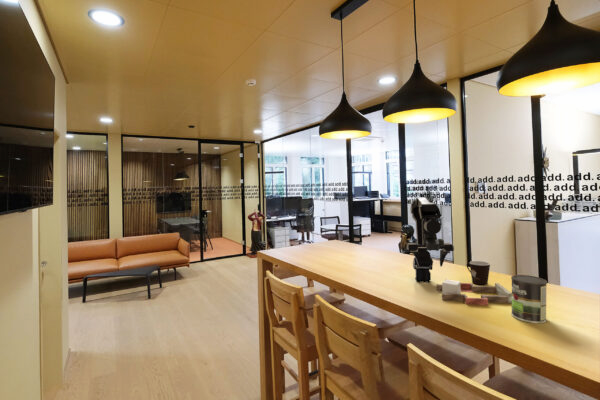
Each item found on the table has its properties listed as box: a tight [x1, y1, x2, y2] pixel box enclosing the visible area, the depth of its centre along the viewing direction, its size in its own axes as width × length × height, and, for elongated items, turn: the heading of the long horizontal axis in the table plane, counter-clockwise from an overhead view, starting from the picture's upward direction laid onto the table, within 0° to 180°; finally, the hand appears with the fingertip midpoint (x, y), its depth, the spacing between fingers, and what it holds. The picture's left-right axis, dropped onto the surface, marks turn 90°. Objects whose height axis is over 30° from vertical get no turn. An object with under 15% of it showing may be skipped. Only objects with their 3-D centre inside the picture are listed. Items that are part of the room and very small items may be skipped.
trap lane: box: [435, 282, 512, 306], centre depth 133 cm, size 26×20×4 cm
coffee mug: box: [466, 260, 491, 286], centre depth 150 cm, size 12×9×10 cm
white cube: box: [441, 278, 462, 294], centre depth 135 cm, size 6×6×6 cm
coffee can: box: [510, 274, 548, 324], centre depth 110 cm, size 10×10×14 cm
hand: (429, 266), depth 136 cm, fingers open, 9 cm apart
